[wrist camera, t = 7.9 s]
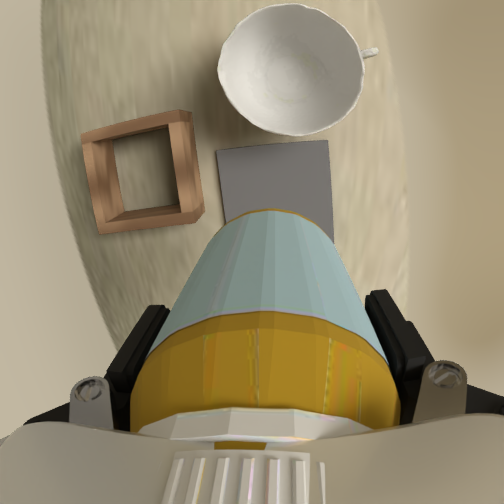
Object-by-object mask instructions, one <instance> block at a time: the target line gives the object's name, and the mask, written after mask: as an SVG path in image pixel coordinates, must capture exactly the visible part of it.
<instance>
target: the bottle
mask: <svg viewBox="0 0 504 504" xmlns="http://www.w3.org/2000/svg"><path fill="white" fill-rule="evenodd" d="M400 410H401V407H400V399H399V396H398V393H397V390H396V385H395V382H394V379H393V376H392V373H391V370H390V367H389V364H388V362H387V359H386V357H385V354H384V352H383V350H382V347H381V345H380V343H379V340H378V338H377V336H376V333H375V331H374V329H373V326H372V324H371V322H370V320H369V317H368V315H367V313H366V311H365V309H364V306H363V304H362V302H361V300H360V298H359V295H358V293H357V291H356V289H355V287H354V285H353V283H352V280H351V278H350V276H349V274H348V272H347V270H346V268H345V266H344V264H343V262H342V260H341V258H340V256H339V254H338V252H337V250H336V248H335V246H334V244H333V242H332V241H331V239H330V238H329V237H328V235H327V234H326V233H325V232H324V231H323V230H322V229H321V228H320V227H319V226H318V225H317V224H316V223H315V222H313V221H312V220H310V219H308V218H306V217H304V216H302V215H300V214H298V213H296V212H293V211H288V210H282V209H276V208H266V209H259V210H253V211H249V212H246V213H244V214H242V215H240V216H238V217H236V218H234V219H232V220H230V221H229V222H227V223H226V224H225V225H224V226H223V227H222V228H221V229H220V230H219V231H218V232H217V233H216V234H215V235H214V236H213V238H212V239H211V240H210V242H209V243H208V245H207V247H206V249H205V250H204V252H203V254H202V256H201V257H200V259H199V261H198V263H197V264H196V266H195V268H194V270H193V272H192V273H191V275H190V277H189V279H188V281H187V282H186V284H185V286H184V288H183V290H182V291H181V293H180V295H179V297H178V299H177V300H176V302H175V304H174V306H173V308H172V310H171V311H170V313H169V315H168V317H167V319H166V321H165V323H164V324H163V326H162V328H161V330H160V332H159V334H158V336H157V338H156V339H155V341H154V343H153V345H152V347H151V349H150V351H149V353H148V355H147V357H146V359H145V361H144V363H143V366H142V368H141V371H140V373H139V375H138V377H137V380H136V382H135V385H134V388H133V390H132V393H131V399H130V432H135V433H142V434H148V435H153V436H158V437H163V438H167V439H174V440H186V441H202V442H214V450H194V451H180V452H175V456H174V460H173V464H172V468H171V471H170V475H169V478H168V482H167V485H166V489H165V492H164V496H163V500H162V503H161V504H309V480H310V453H302V452H288V451H269V450H265V447H266V445H267V442H290V441H306V440H317V439H323V438H328V437H334V436H340V435H346V434H352V433H357V432H363V431H369V430H376V429H382V428H388V427H394V426H399V420H400ZM161 462H162V461H161ZM161 462H160V464H159V467H160V465H161ZM316 463H317V475H318V485H319V492H320V500H321V504H325V463H322V462H316ZM158 470H159V468H158ZM157 473H158V471H157Z"/></svg>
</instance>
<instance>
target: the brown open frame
mask: <svg viewBox="0 0 504 504" xmlns="http://www.w3.org/2000/svg"><path fill="white" fill-rule="evenodd" d="M167 127H169V133H170V140H171V148H172V155H173V161H174V168H175V175H176V181H177V188H178V194H179V200H180V204H176V205H168V206H161V207H153V208H146V209H139V210H133V211H126V212H124V207H123V202H122V197H121V192H120V186H119V181H118V175H117V169H116V163H115V156H114V150H113V143H112V140H113V139H117V138H121V137H126V136H130V135H134V134H139V133H143V132H148V131H152V130H157V129H162V128H167ZM81 141H82V148H83V155H84V161H85V167H86V173H87V179H88V184H89V190H90V195H91V200H92V205H93V209H94V214H95V218H96V223H97V227H98V232H99V235H100V234H108V233H115V232H123V231H131V230H139V229H148V228H156V227H165V226H174V225H183V224H192V223H196V221H197V220H198V219H199V218H200V217H201V216H202V214H203V213H204V212H205V207H204V200H203V193H202V187H201V180H200V173H199V166H198V159H197V151H196V144H195V136H194V128H193V121H192V113H191V112H187V111H183V110H174V111H169V112H164V113H160V114H155V115H150V116H146V117H142V118H138V119H133V120H129V121H125V122H121V123H118V124H114V125H110V126H107V127H103V128H99V129H96V130H93V131H89V132H86V133H83V134H81Z"/></svg>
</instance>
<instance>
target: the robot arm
mask: <svg viewBox="0 0 504 504" xmlns="http://www.w3.org/2000/svg"><path fill="white" fill-rule="evenodd" d="M365 311H366V313H367V315H368V317H369V320H370V322H371V324H372V326H373V329H374V331H375V333H376V336H377V338H378V340H379V343H380V345H381V347H382V350H383V352H384V354H385V357H386V359H387V362H388V364H389V367H390V370H391V373H392V376H393V379H394V382H395V385H396V390H397V393H398V396H399V399H400V407H401V410H400V420H399V426H394V427H388V428H382V429H376V430H369V431H363V432H357V433H352V434H346V435H340V436H334V437H328V438H323V439H317V440H306V441H290V442H267V445H266V447H265V450H269V451H288V452H302V453H310V480H309V504H321V500H320V492H319V485H318V475H317V463H316V462H322V463H325V504H504V397H503V396H499V395H497V394H494V393H491V392H488V391H485V390H482V389H480V388H477V387H474V386H471V385H468V384H467V374H466V372H465V370H464V369H463V368H462V367H461V366H460V365H459V364H457V363H455V362H452V361H447V360H440V361H435V360H434V358H433V357H432V355H431V353H430V351H429V350H428V348H427V346H426V345H425V343H424V341H423V340H422V338H421V337H420V335H419V333H418V331H417V330H416V328H415V327H414V325H413V323H412V322H411V321H406V320H405V319H404V317H403V315H402V314H401V312H400V310H399V309H398V307H397V306H396V304H395V302H394V301H393V299H392V297H391V296H390V294H389V293H388V291H387V290H386V289H383V290H374V291H371V293H370V295H366V298H365ZM169 313H170V310H169V309H168V308H166V307H165V306H164V305H149V306H148V307H147V309H146V310H145V312H144V313H143V315H142V316H141V318H140V319H139V321H138V322H137V324H136V325H135V327H134V328H133V330H132V331H131V333H130V335H129V336H128V338H127V339H126V341H125V342H124V344H123V345H122V347H121V348H120V350H119V352H118V353H117V355H116V357H115V358H114V360H113V361H112V363H111V364H110V366H109V368H108V369H107V373H106V375H105V376H104V378H102V377H97V376H93V377H88V378H85V379H83V380H81V381H79V382H78V383H77V384H75V386H74V387H73V388H72V390H71V394H70V402H69V403H66V404H64V405H62V406H59V407H57V408H55V409H52V410H50V411H48V412H45V413H43V414H40V415H38V416H36V417H33V418H31V419H29V420H28V421H27V422H25V423H24V424H23V426H21V427H19V428H18V429H16V430H15V431H14V432H13V433H12V434H11V435H9V436H7V437H5V438H2V439H0V504H161V503H162V500H163V496H164V492H165V489H166V485H167V482H168V478H169V475H170V471H171V468H172V464H173V460H174V456H175V452H180V451H194V450H214V442H202V441H186V440H174V439H167V438H163V437H158V436H153V435H148V434H142V433H135V432H130V399H131V393H132V390H133V388H134V385H135V382H136V380H137V377H138V375H139V373H140V371H141V368H142V366H143V363H144V361H145V359H146V357H147V355H148V353H149V351H150V349H151V347H152V345H153V343H154V341H155V339H156V338H157V336H158V334H159V332H160V330H161V328H162V326H163V324H164V323H165V321H166V319H167V317H168V315H169ZM161 461H162V462H161ZM160 462H161V465H160V467H159V464H160ZM158 468H159V470H158ZM157 471H158V473H157Z"/></svg>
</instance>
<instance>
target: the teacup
mask: <svg viewBox="0 0 504 504" xmlns="http://www.w3.org/2000/svg"><path fill="white" fill-rule="evenodd" d="M378 52H379V50H378V48H376V47H374V48H368V49H365V50H361V51H360V48H359V46H358V44H357V42H356V41H355V39H354V38H353V37H352V35H351V34H350V33H349V32H348V31H347V29H346V27H345V26H343V25H342V24H340V23H339V22H337V21H336V20H335V19H333V18H332V17H330V16H328V15H327V14H326V13H325V12H322V11H321V10H319V9H317V8H312V7H307V6H306V5H303V4H296V3H286V4H276V5H270V6H266V7H263V8H261V9H259V10H256V11H254V12H253V13H251V14H249V15H248V16H247V17H245V18H244V19H243V20H242V21H240V22H239V23H238V24H237V25H236V26H235V28H234V30H233V31H232V32H231V34H230V36H229V37H228V38H227V40H226V41H225V42H224V44H223V47H222V49H221V56H220V58H219V62H218V68H217V71H218V77H219V81H220V84H221V86H222V88H223V91H224V93H225V95H226V97H227V99H228V100H229V102H230V103H231V104H232V106H233V107H234V108H235V109H236V110H237V111H238V113H240V114H241V115H242V116H244V117H245V118H246V119H247V120H249V121H250V122H251V123H252V124H253V125H255V126H257V127H259V128H261V129H263V130H265V131H268V132H271V133H275V134H279V135H291V136H308V135H311V134H314V133H318V132H321V131H323V130H325V129H328V128H330V127H331V126H333V125H335V124H337V123H338V122H340V121H341V120H342V119H343V118H345V117H346V116H347V114H348V113H349V112H350V111H351V110H352V109H353V108H354V107H355V105H356V103H357V100H358V98H359V96H360V94H361V92H362V89H363V78H364V71H365V70H364V68H365V67H364V60H363V59H366V58H369V57H373V56H375V55H377V54H378Z"/></svg>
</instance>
